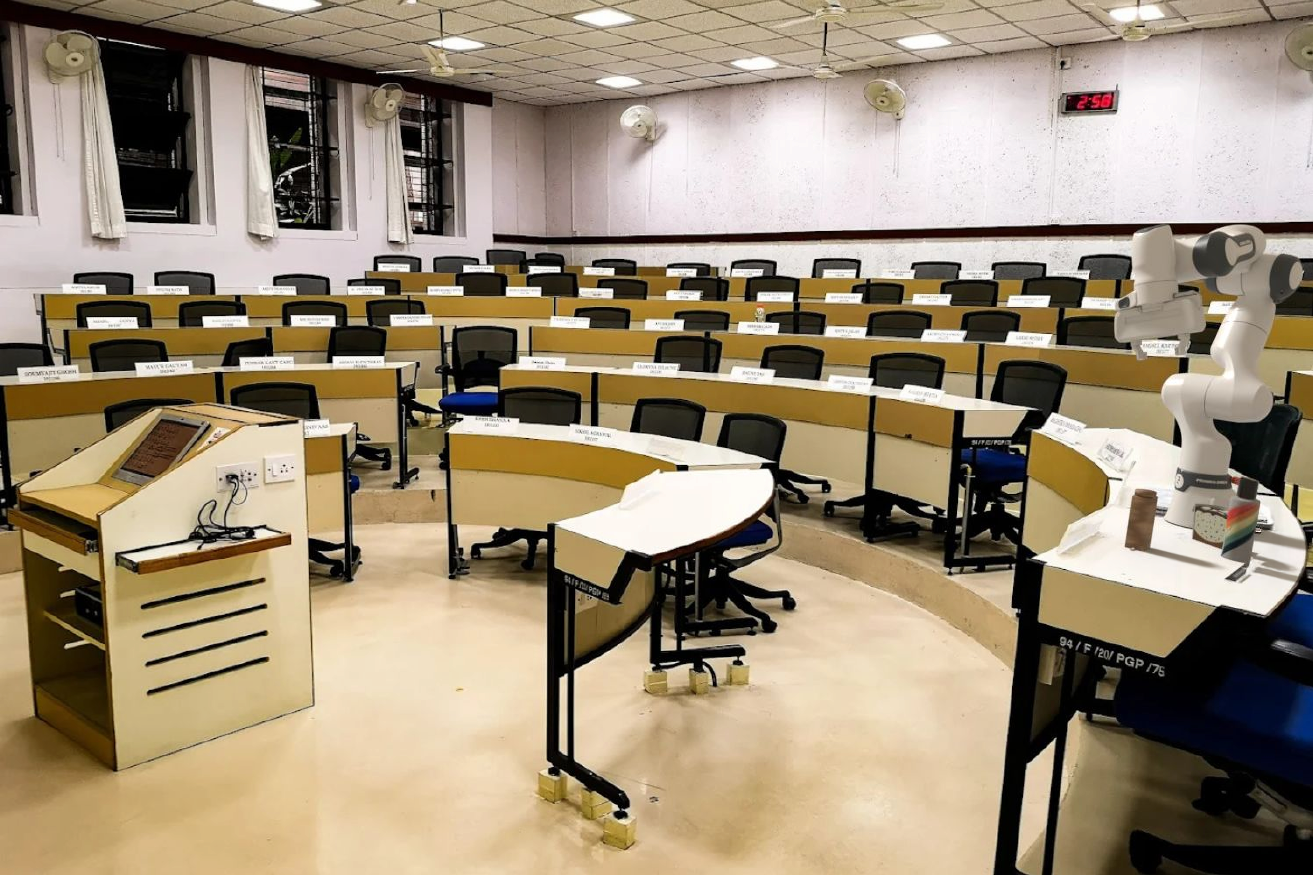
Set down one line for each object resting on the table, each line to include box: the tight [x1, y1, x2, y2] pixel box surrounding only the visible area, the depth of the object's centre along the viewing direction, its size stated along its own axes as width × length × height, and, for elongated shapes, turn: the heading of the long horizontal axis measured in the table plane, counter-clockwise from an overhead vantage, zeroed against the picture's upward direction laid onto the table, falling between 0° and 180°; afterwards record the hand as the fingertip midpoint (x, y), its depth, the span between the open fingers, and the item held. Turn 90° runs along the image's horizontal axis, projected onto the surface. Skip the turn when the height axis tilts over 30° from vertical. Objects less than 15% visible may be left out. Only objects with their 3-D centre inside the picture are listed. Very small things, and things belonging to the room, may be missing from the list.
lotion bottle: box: [1220, 475, 1261, 569], centre depth 210 cm, size 6×6×20 cm
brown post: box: [1124, 488, 1159, 552], centre depth 215 cm, size 4×8×13 cm, turn 136°
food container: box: [1191, 504, 1229, 550], centre depth 222 cm, size 12×6×10 cm, turn 17°
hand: (1160, 357), depth 214 cm, fingers open, 8 cm apart
